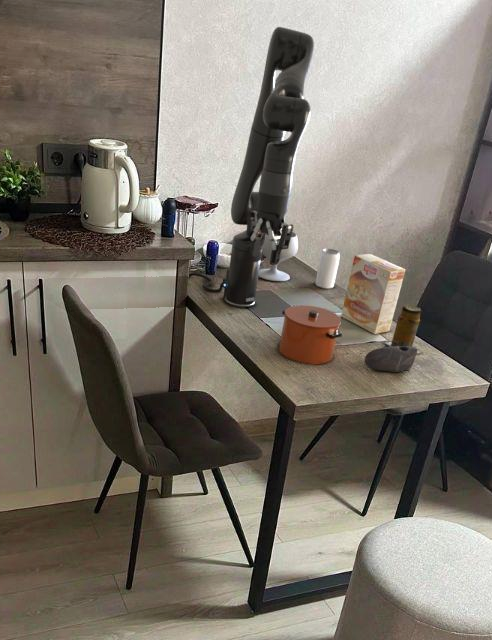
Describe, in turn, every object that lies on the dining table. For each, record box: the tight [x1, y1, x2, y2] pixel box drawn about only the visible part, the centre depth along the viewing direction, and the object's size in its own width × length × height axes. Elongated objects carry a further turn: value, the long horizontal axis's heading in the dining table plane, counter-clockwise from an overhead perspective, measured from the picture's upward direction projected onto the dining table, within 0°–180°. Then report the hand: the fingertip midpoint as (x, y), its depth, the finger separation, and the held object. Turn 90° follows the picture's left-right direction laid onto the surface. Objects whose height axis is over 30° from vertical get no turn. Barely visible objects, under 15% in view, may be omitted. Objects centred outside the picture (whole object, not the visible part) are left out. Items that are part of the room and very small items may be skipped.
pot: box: [278, 304, 343, 365], centre depth 198 cm, size 19×15×12 cm
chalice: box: [258, 231, 299, 282], centre depth 249 cm, size 14×14×15 cm
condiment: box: [384, 304, 422, 354], centre depth 209 cm, size 7×8×12 cm
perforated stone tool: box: [364, 346, 418, 373], centre depth 195 cm, size 15×5×7 cm, turn 98°
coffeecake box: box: [340, 253, 406, 335], centre depth 220 cm, size 15×7×20 cm, turn 36°
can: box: [314, 248, 341, 290], centre depth 248 cm, size 6×6×12 cm
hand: (264, 259), depth 181 cm, fingers open, 6 cm apart
